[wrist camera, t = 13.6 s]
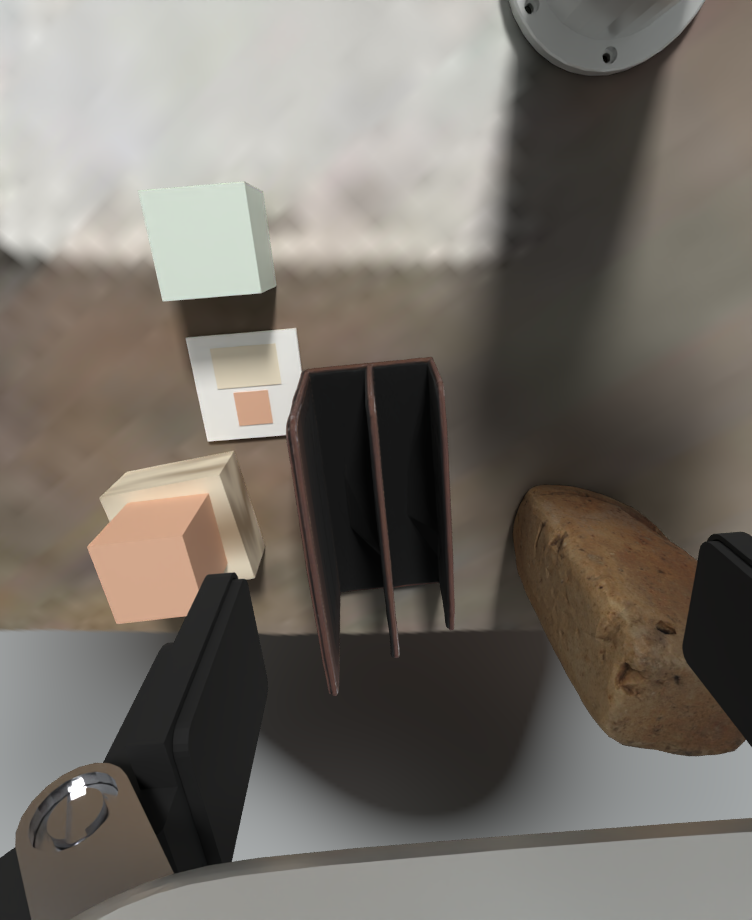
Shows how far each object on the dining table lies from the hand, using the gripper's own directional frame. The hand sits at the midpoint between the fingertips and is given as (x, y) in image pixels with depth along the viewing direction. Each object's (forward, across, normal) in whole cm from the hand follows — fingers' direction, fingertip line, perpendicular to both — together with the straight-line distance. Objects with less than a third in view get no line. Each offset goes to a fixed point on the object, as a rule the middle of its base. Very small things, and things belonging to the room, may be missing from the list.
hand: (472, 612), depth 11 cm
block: (+31, -14, +16) cm, 37 cm away
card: (+30, +11, +2) cm, 32 cm away
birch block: (+31, +17, +12) cm, 37 cm away
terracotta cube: (+26, +17, +12) cm, 33 cm away
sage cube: (+30, +11, -8) cm, 33 cm away
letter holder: (+31, +2, +11) cm, 33 cm away
